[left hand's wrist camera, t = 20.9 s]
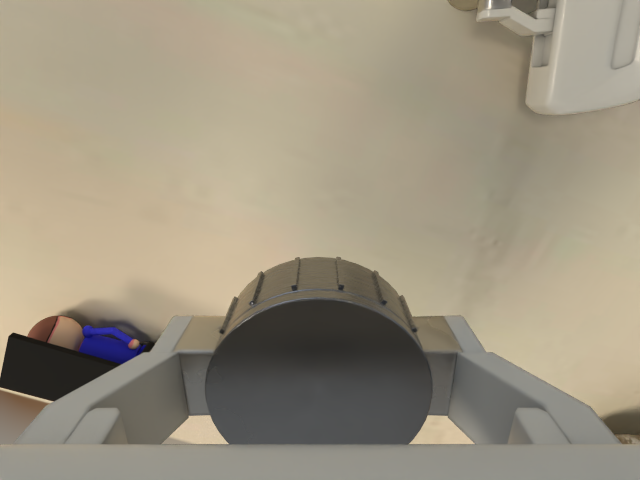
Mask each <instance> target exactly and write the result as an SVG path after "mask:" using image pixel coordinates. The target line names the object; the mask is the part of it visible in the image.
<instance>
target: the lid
mask: <svg viewBox="0 0 640 480" xmlns="http://www.w3.org/2000/svg"><path fill="white" fill-rule="evenodd" d="M417 331H418V330H417V327H416V325H415V322H414V320H413V318H412V315H411V313H410V310H409V308H408V305H407V303H406V300H405V298H404V296H403V295H402V296H399V295H398V293H397V292H396V291H395V290H394V288H393V287H392V286H391V285H390V284H389V283H388V282H386V281H385V280H384V279H383V278H382V277H380V276H379V274H378V272H377V271H375V270H374V272H372V271H371V270H369V269H367V268H365V267H363V266H360V265H358V264H356V263H352V262H349V261H346V260H341V257H336V259H335V258H325V257H313V258H303V259H300V257H297V258H295V260H292V261H289V262H286V263H283V264H280V265H277V266H275V267H273V268H271V269H269V270H267V271H265V272H264V273H263V272H262V271H261V272H260V273H258V276H257V277H256V278H255V279H254V280H253V281H252V282H250V283H249V284H248V285H247V286H246V287H245V289H244V290H243V291H242V292H241V293H240V295H239V296H238V298H237V297H234V298H233V300H232V302H231V305H230V307H229V309H228V312H227V314H226V316H225V319H224V321H223V324H222V326H221V328H220V331H219V333H221V335H220V337H219V340H218V342H217V345H216V347H215V349H214V352H213V354H212V357H211V359H210V362H209V365H208V369H207V372H206V379H205V397H206V402H207V406H208V410H209V413H210V415H211V418H212V420H213V422H214V424H215V426H216V428H217V429H218V431H219V432H220V434H221V435H222V436H223V437H224V439H225V440H226V441H227V442H228V443H229V444H409V443H410V442H411V441H412V440H413V439H414V437H415V436H416V435H417V433H418V432H419V431H420V429H421V427H422V426H423V424H424V422H425V420H426V418H427V415H428V412H429V410H430V406H431V401H432V393H433V382H432V374H431V370H430V366H429V363H428V360H427V358H426V355H425V353H424V350H423V348H422V345H421V343H420V340H419V338H418V335H417Z"/></svg>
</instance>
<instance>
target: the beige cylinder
mask: <svg viewBox="0 0 640 480" xmlns="http://www.w3.org/2000/svg"><path fill="white" fill-rule="evenodd" d="M448 2H449V3H450V4H451V5H452V6H453V7H455V8H457V9H459V10H464V11H468V10H473V9H475V8H477V6H478V0H448Z"/></svg>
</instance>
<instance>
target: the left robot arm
mask: <svg viewBox="0 0 640 480" xmlns="http://www.w3.org/2000/svg"><path fill="white" fill-rule="evenodd" d="M412 318H413V320H414V322H415V325H416V327H417V330H418V331H417V335H418V338H419V340H420V343H421V345H422V348H423V350H424V353H425V355H426V358H427V360H428V363H429V366H430V370H431V374H432V382H433V393H432V401H431V406H430V410H429V412H428V415H443V416H448V418H449V419H450V420H451V421H452V422H453V423H454V424H455V425H456V426H457V427H458V428H459V429H460V430H461V431H462V432H464V433H465V434H466V435H467V436H468V437H469V438H470V439H471V440H472V441H473V442H474V443H475V444H162V443H163V442H164V441H165V440H166V439H167V438H168V437H169V436H170V435H171V434H172V433H173V432H174V431H175V430H176V429H177V428H178V427H179V426H180V425H181V424H182V423H183V422H184V421H186V420H187V419H188V418H189V417H188V416H194V415H210V413H209V410H208V406H207V402H206V397H205V379H206V372H207V369H208V365H209V362H210V359H211V357H212V354H213V352H214V349H215V347H216V345H217V342H218V340H219V337H220V335H221V333H219V331H220V328H221V326H222V324H223V321H224V319H225V316H194V315H185V316H174V317H173V318H172V319H171V321H170V322H169V324H168V325H167V327H166V328H165V330H164V331H163V333H162V334H161V336H160V337H159V339H158V340H157V342H156V344H155V345H154V347H153V348H152V350H151V351H150V352H144V353H142V354H140V355H138V356H136V357H134V358H133V359H131V360H129V361H127V362H125V363H123V364H122V365H120V366H118V367H116V368H114V369H113V370H111V371H109V372H107V373H105V374H103V375H102V376H100V377H98V378H96V379H94V380H92V381H91V382H89V383H87V384H85V385H83V386H81V387H80V388H78V389H76V390H74V391H72V392H71V393H69V394H67V395H65V396H63V397H61V398H60V399H58V400H56V401H54V402H52V403H50V404H49V405H47V406H45V408H44V409H43V410H42V411H41V412H40V413H39V414H38V416H37V417H36V418H35V419H34V420H33V421H32V422H31V424H30V425H29V426H28V427H27V428H26V429H25V430H24V432H23V433H22V434H21V435H20V436H19V437H18V438H17V440H16V441H15V442H14V443H13V444H0V480H640V444H622V443H621V442H620V441H619V440H618V439H617V437H616V436H615V435H614V434H613V433H612V432H611V430H610V429H609V428H608V427H607V426H606V424H605V423H604V422H603V421H602V420H601V419H600V417H599V416H598V415H597V414H596V413H595V412H594V410H593V409H592V408H591V407H590V406H588V405H586V404H585V403H583V402H581V401H579V400H577V399H576V398H574V397H572V396H570V395H568V394H567V393H565V392H563V391H561V390H559V389H558V388H556V387H554V386H552V385H550V384H549V383H547V382H545V381H543V380H541V379H539V378H538V377H536V376H534V375H532V374H530V373H529V372H527V371H525V370H523V369H521V368H520V367H518V366H516V365H514V364H512V363H511V362H509V361H507V360H505V359H503V358H502V357H500V356H498V355H496V354H494V353H493V352H486V351H485V349H484V348H483V346H482V345H481V343H480V342H479V340H478V339H477V337H476V335H475V334H474V332H473V331H472V329H471V328H470V326H469V325H468V323H467V322H466V320H465V319H464V317H463V316H461V315H453V316H421V317H412Z"/></svg>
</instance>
